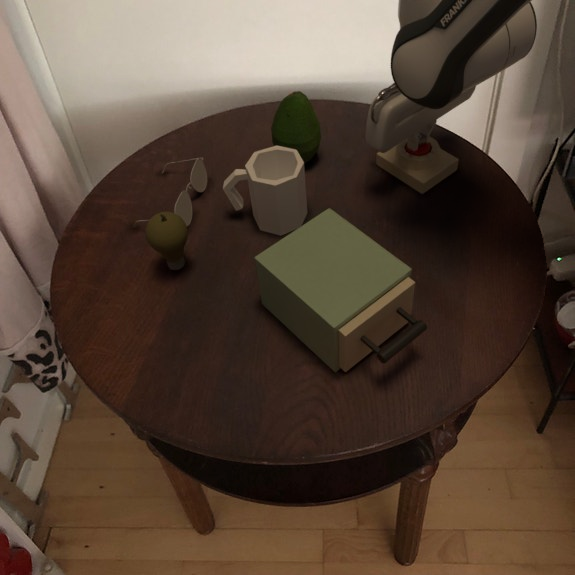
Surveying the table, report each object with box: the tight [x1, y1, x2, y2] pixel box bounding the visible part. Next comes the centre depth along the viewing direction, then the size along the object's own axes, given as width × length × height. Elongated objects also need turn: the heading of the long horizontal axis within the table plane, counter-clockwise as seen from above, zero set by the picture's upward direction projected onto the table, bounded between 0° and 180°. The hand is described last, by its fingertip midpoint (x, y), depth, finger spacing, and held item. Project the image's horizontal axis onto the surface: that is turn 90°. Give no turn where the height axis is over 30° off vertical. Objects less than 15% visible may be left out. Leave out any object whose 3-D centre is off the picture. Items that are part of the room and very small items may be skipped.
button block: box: [375, 135, 460, 195], centre depth 98 cm, size 10×8×4 cm
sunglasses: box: [133, 157, 208, 229], centre depth 97 cm, size 14×8×5 cm, turn 167°
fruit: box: [270, 90, 322, 164], centre depth 98 cm, size 8×8×12 cm
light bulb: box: [145, 211, 189, 271], centre depth 86 cm, size 6×6×10 cm
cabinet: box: [253, 207, 413, 373], centre depth 79 cm, size 15×13×10 cm
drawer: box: [338, 277, 428, 373], centre depth 77 cm, size 18×11×8 cm, turn 40°
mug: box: [222, 145, 308, 237], centre depth 91 cm, size 12×9×10 cm
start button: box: [406, 143, 430, 156], centre depth 97 cm, size 4×4×2 cm
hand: (417, 145), depth 96 cm, fingers closed, pressing on start button
